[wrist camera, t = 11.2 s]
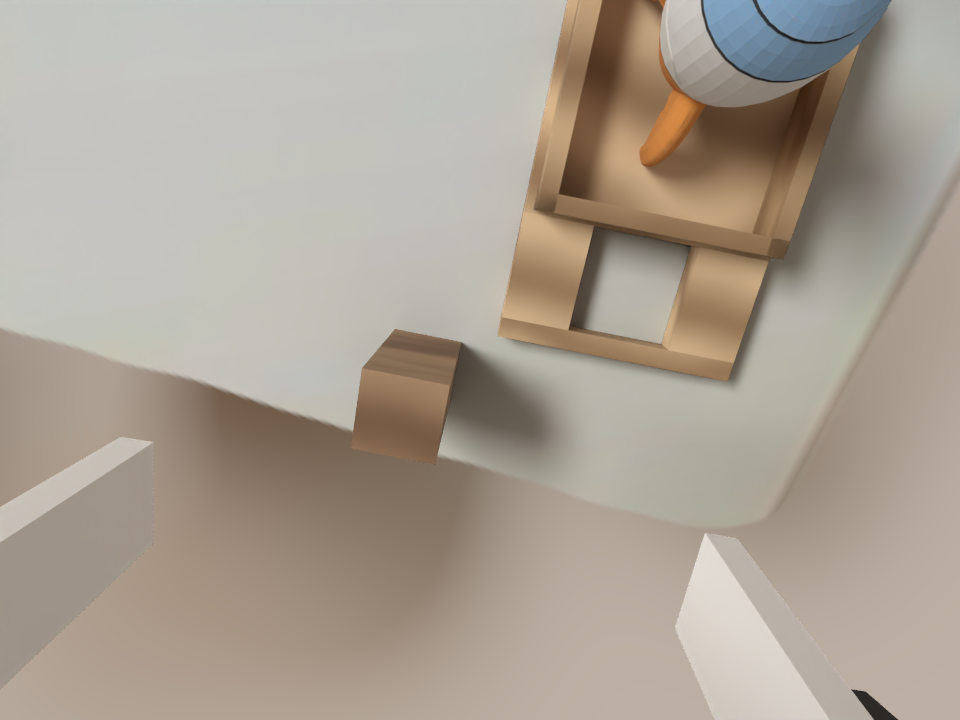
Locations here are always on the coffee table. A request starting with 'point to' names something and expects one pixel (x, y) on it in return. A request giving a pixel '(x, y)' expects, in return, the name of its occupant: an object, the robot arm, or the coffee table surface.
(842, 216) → the coffee table surface
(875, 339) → the coffee table surface
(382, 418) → the block
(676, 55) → the toy rocket
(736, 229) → the tray
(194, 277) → the coffee table surface
